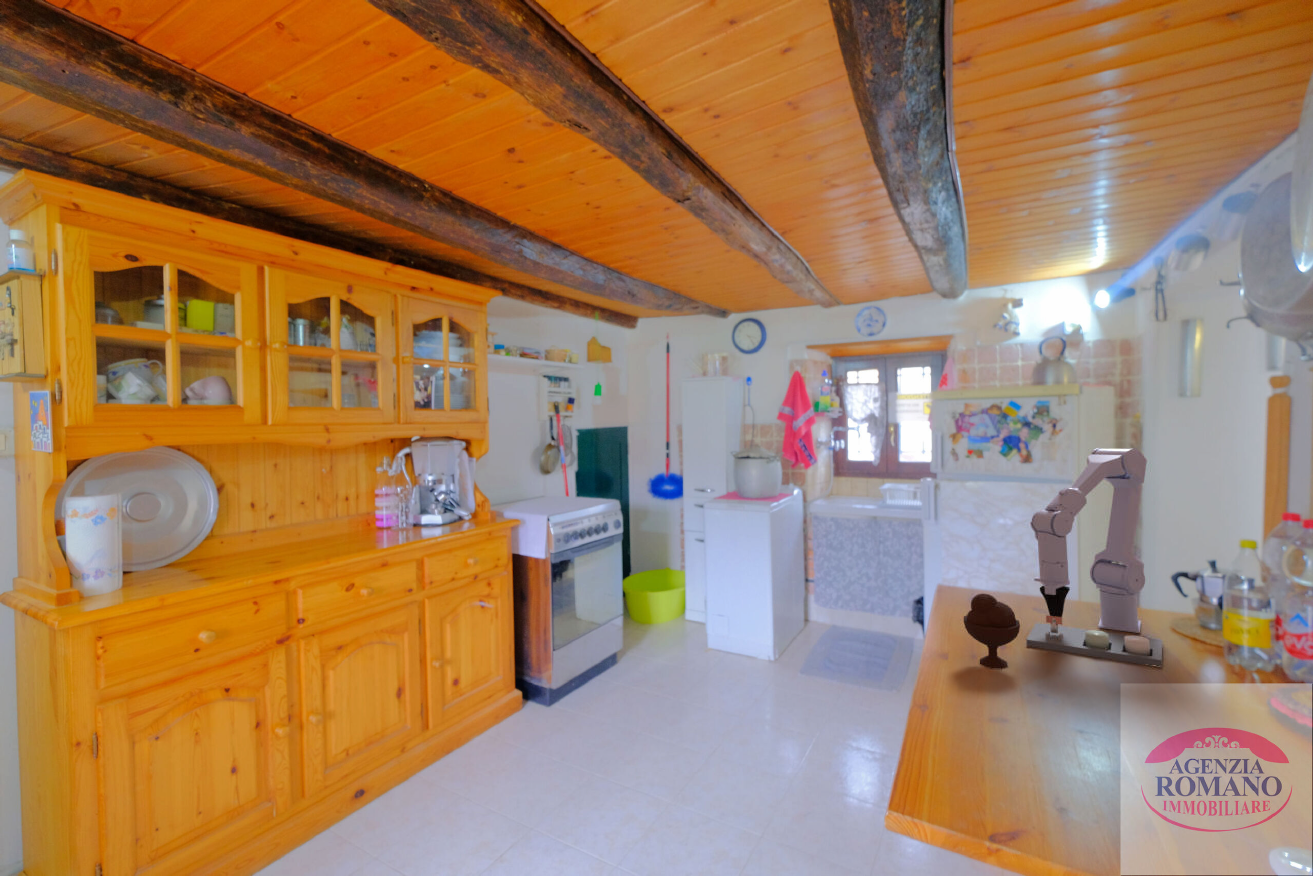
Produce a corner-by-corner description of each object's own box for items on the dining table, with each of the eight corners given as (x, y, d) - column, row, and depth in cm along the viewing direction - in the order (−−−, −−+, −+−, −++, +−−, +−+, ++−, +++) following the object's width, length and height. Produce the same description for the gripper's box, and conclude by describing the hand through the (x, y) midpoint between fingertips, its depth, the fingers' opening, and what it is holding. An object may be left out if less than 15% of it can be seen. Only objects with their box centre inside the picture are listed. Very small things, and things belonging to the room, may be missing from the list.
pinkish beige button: (1125, 647, 131) (1124, 634, 131) (1150, 650, 128) (1149, 637, 128) (1124, 653, 128) (1123, 640, 128) (1149, 656, 125) (1149, 643, 125)
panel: (1036, 628, 149) (1035, 618, 149) (1162, 646, 133) (1161, 635, 133) (1026, 645, 138) (1026, 635, 138) (1162, 667, 122) (1161, 655, 122)
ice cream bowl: (965, 670, 127) (961, 600, 127) (966, 652, 137) (962, 587, 136) (1024, 677, 122) (1019, 604, 122) (1019, 657, 132) (1016, 590, 131)
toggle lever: (1047, 632, 139) (1047, 615, 140) (1062, 634, 137) (1062, 617, 138) (1046, 631, 138) (1046, 615, 139) (1061, 633, 136) (1061, 617, 137)
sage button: (1086, 641, 135) (1085, 629, 135) (1109, 644, 133) (1108, 632, 133) (1084, 647, 132) (1084, 634, 132) (1108, 650, 130) (1107, 637, 129)
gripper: (1038, 553, 149) (1041, 607, 150) (1028, 565, 138) (1031, 623, 139) (1072, 556, 145) (1075, 611, 145) (1064, 568, 134) (1068, 628, 134)
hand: (1056, 617), depth 141 cm, fingers closed
